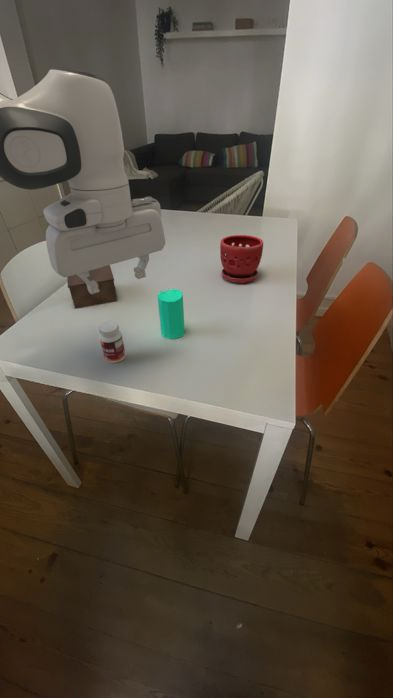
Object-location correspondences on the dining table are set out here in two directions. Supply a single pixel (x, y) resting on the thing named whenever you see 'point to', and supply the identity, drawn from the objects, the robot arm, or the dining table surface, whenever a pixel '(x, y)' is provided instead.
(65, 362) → the dining table surface
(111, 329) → the pill bottle
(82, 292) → the walnut box
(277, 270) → the dining table surface
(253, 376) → the dining table surface
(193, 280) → the dining table surface
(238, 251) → the flower pot
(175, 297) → the candle
